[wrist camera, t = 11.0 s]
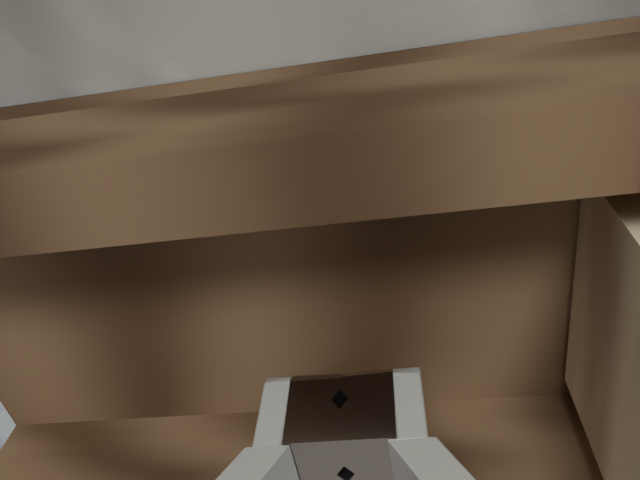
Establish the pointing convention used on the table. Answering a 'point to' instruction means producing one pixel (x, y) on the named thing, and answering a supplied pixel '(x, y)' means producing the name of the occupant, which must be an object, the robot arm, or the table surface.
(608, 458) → the block
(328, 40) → the table surface
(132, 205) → the chute
